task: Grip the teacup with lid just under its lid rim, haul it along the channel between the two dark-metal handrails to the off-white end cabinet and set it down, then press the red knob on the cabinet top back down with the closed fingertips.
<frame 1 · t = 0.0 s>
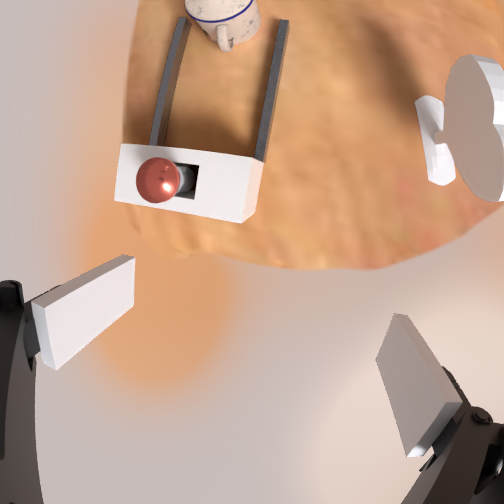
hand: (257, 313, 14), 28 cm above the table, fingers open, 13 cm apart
heart sculpture: (436, 139, 34), on the table
end cabinet: (203, 178, 41), on the table
handrail: (221, 83, 37), on the table
red knob: (170, 179, 30), point 12 cm above the table, slide at 0.0 cm
teacup with lid: (233, 31, 35), on the table
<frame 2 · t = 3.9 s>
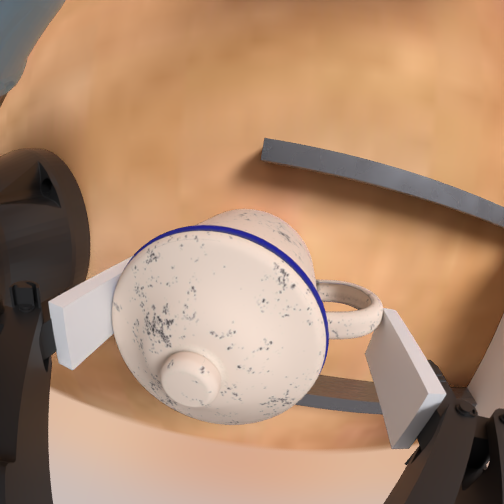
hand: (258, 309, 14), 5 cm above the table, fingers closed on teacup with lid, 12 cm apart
handrail: (399, 301, 18), on the table
teacup with lid: (269, 273, 19), on the table, touching gripper
when the fingers open (7 cm above the table, at t = 10.4 s): teacup with lid drops 1 cm, on the table.
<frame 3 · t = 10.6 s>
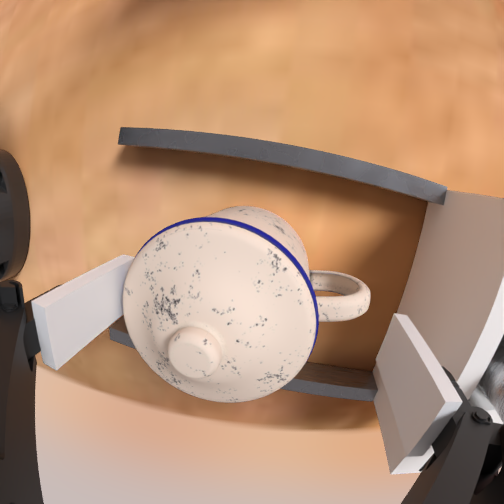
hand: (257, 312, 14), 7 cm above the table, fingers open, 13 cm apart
end cabinet: (439, 302, 19), on the table
handrail: (260, 266, 21), on the table
teacup with lid: (267, 266, 21), on the table
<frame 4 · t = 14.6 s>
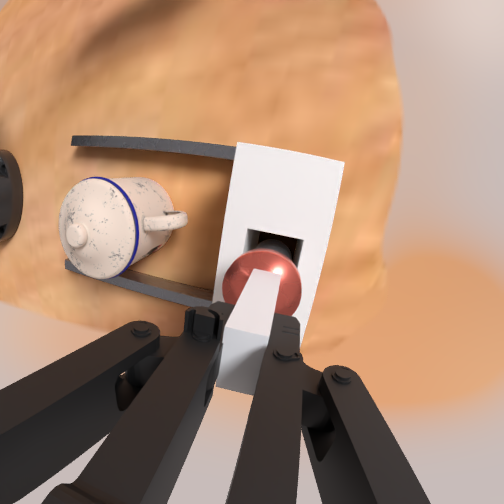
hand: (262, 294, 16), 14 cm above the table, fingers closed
end cabinet: (277, 239, 30), on the table
handrail: (148, 214, 31), on the table
red knob: (267, 272, 20), point 11 cm above the table, slide at 1.0 cm, touching gripper
teacup with lid: (153, 214, 31), on the table
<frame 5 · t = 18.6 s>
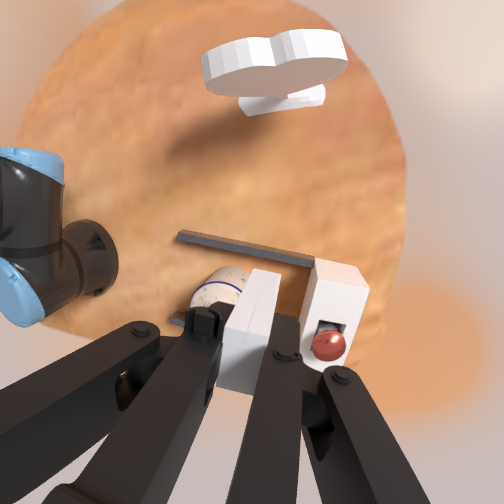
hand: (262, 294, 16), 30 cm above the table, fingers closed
heart sculpture: (281, 95, 41), on the table
end cabinet: (323, 307, 48), on the table
handrail: (239, 290, 49), on the table
red knob: (327, 334, 39), point 9 cm above the table, slide at 2.4 cm
teacup with lid: (241, 290, 49), on the table
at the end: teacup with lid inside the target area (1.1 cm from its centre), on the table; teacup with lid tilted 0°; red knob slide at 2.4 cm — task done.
